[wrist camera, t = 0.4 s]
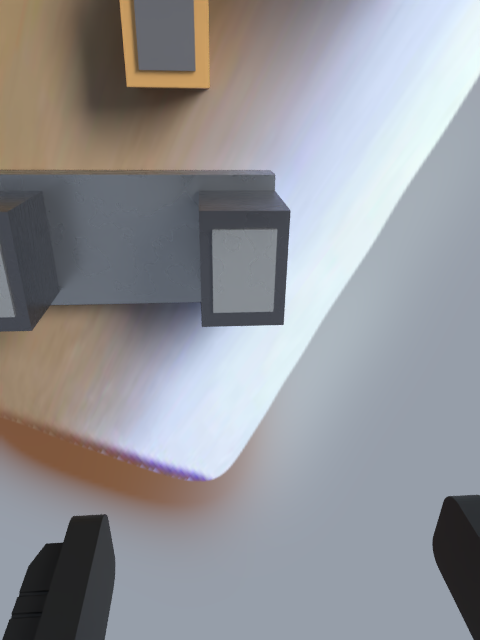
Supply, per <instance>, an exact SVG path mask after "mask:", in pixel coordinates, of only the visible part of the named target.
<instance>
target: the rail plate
mask: <svg viewBox="0 0 480 640" xmlns="http://www.w3.org/2000/svg"><path fill="white" fill-rule="evenodd" d="M289 225H290V209H289V208H288V207H287V206H286V204H285V203H284V202H283V201H282V199H281V198H280V197H279V195H278V194H277V193H276V192H275V174H274V173H273V172H272V171H271V170H0V331H32V330H33V328H34V327H35V326H36V324H37V323H38V322H39V320H40V319H41V317H42V316H43V315H44V313H45V312H46V310H47V309H48V308H49V306H50V305H80V304H132V303H184V302H201V314H202V327H212V326H255V325H283V324H284V308H285V291H286V275H287V258H288V241H289Z"/></svg>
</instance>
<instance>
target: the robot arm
mask: <svg viewBox="0 0 480 640" xmlns="http://www.w3.org/2000/svg"><path fill="white" fill-rule="evenodd" d="M433 553H434V557H435V560H436V563H437V566H438V568H439V570H440V572H441V574H442V576H443V578H444V580H445V582H446V584H447V586H448V588H449V590H450V592H451V594H452V596H453V598H454V600H455V602H456V604H457V607H458V608H459V611H460V613H461V614H462V617H463V618H464V621H465V623H466V625H467V627H468V629H469V631H470V633H471V635H472V637H473V639H474V640H480V495H467V496H466V495H465V496H448V497H446V498H445V500H444V502H443V505H442V509H441V512H440V516H439V519H438V522H437V526H436V529H435V532H434V536H433ZM114 579H115V555H114V549H113V544H112V538H111V532H110V527H109V521H108V517H107V515H106V514H104V515H87V516H73V517H72V518H71V520H70V523H69V525H68V529H67V532H66V536H65V539H64V542H63V543H50V544H46V545H45V546H44V547H43V548H42V550H41V551H40V552H39V554H38V555H37V556H36V557H35V559H34V560H33V561H32V563H31V564H30V565H29V567H28V569H27V572H26V575H25V578H24V581H23V583H22V586H21V589H20V594H19V597H17V600H16V603H15V606H14V609H13V611H12V618H11V619H10V620H9V623H8V625H7V628H6V631H5V634H4V637H3V640H104V639H105V634H106V628H107V622H108V616H109V611H110V605H111V599H112V593H113V587H114Z"/></svg>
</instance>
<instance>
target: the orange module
mask: <svg viewBox="0 0 480 640" xmlns="http://www.w3.org/2000/svg"><path fill="white" fill-rule="evenodd" d="M120 11H121V23H122V35H123V47H124V59H125V70H126V82H127V87H134V88H178V89H209V88H210V73H209V5H208V0H120Z"/></svg>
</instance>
